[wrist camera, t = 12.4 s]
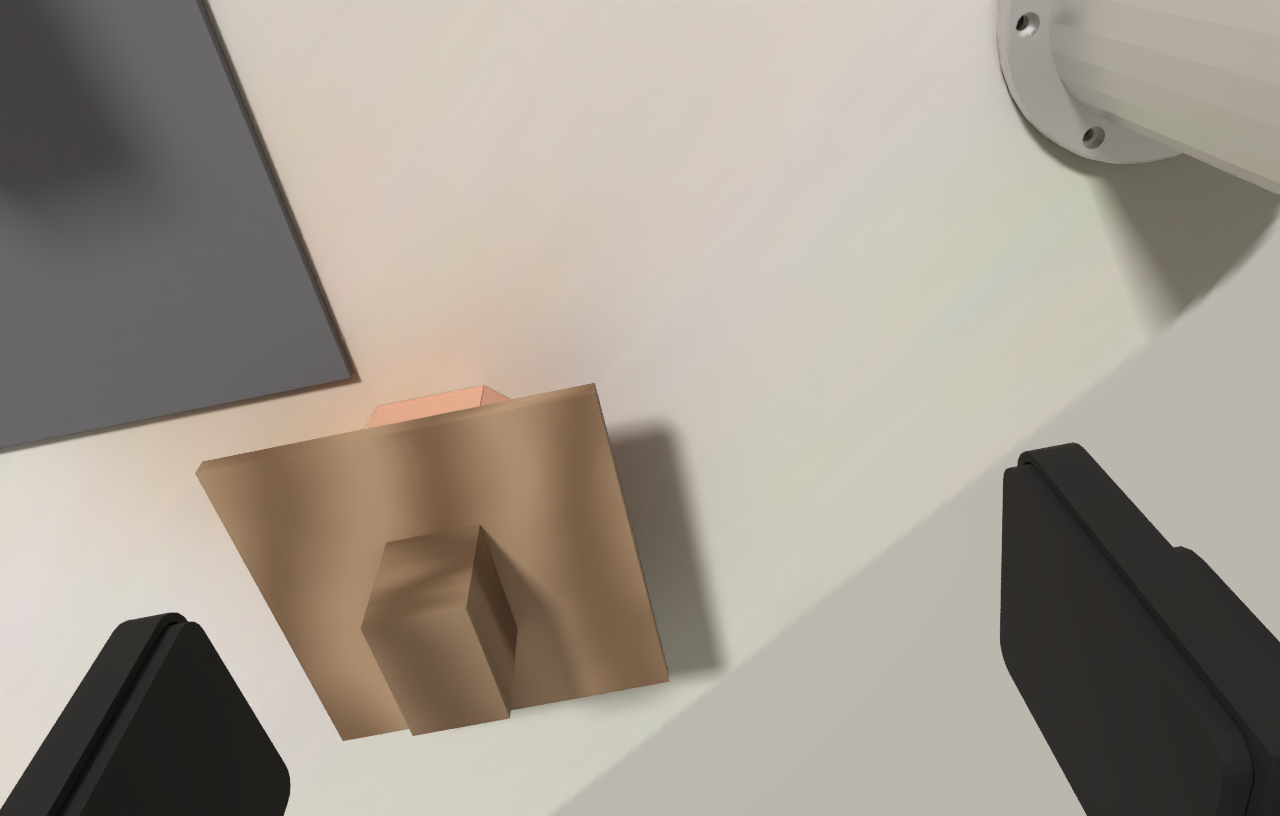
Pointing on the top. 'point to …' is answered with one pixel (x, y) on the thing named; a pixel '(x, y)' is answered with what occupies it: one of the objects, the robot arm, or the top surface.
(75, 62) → the mat
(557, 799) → the top surface
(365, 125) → the top surface
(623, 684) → the lid
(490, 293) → the top surface
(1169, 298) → the top surface
